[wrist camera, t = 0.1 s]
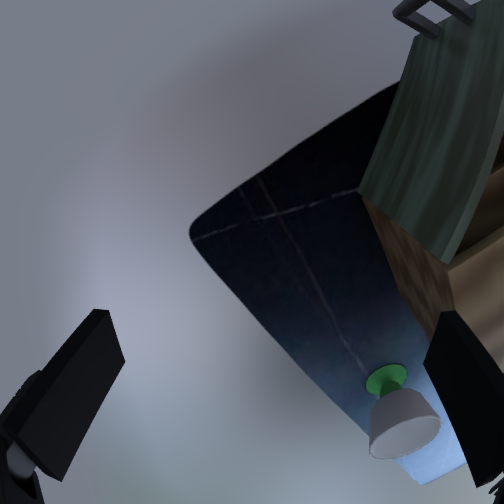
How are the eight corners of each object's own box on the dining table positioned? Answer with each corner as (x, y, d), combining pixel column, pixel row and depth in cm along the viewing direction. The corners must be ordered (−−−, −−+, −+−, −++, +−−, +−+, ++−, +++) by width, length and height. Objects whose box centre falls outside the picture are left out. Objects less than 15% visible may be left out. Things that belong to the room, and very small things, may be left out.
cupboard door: (318, 175, 40) (372, 228, 18) (378, 17, 30) (461, -59, 8) (362, 194, 40) (449, 265, 18) (419, 40, 30) (522, -8, 8)
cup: (341, 384, 54) (353, 448, 40) (397, 343, 50) (425, 405, 35) (376, 408, 57) (391, 465, 42) (426, 373, 52) (452, 428, 38)
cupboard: (361, 197, 41) (447, 272, 18) (489, 131, 34) (602, 153, 12) (399, 294, 46) (464, 401, 23) (511, 225, 39) (600, 285, 17)
